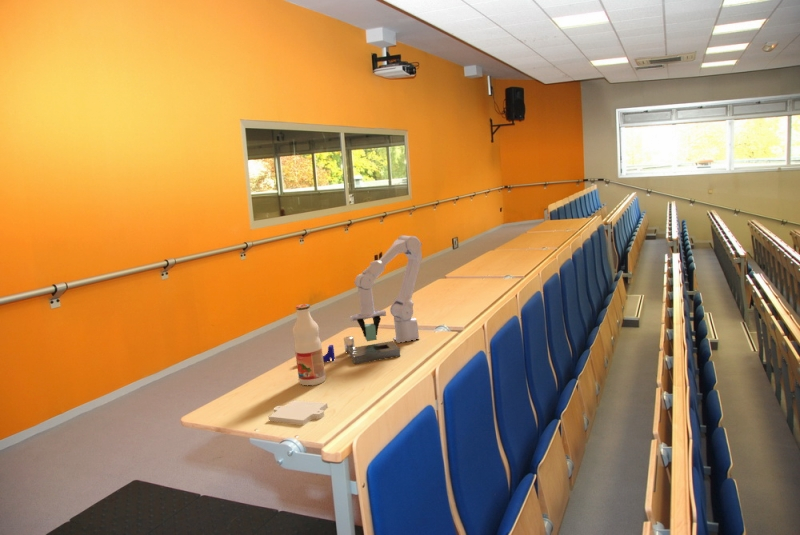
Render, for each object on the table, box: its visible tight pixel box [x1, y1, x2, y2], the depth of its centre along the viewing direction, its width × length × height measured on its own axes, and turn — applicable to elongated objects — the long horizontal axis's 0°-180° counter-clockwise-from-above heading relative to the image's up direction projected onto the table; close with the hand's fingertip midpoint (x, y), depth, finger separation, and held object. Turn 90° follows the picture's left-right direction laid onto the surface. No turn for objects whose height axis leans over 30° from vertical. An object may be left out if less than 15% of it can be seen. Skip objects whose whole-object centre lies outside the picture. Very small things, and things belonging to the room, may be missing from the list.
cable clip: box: [323, 344, 336, 363], centre depth 238 cm, size 12×4×6 cm, turn 86°
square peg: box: [364, 322, 378, 342], centre depth 248 cm, size 4×4×6 cm
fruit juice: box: [292, 303, 326, 387], centre depth 215 cm, size 9×9×28 cm
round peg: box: [343, 335, 356, 354], centre depth 247 cm, size 4×4×6 cm
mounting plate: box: [268, 399, 329, 426], centre depth 188 cm, size 18×13×2 cm
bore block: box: [348, 340, 401, 365], centre depth 239 cm, size 18×12×3 cm, turn 103°
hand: (370, 335), depth 249 cm, fingers closed on square peg, 4 cm apart
